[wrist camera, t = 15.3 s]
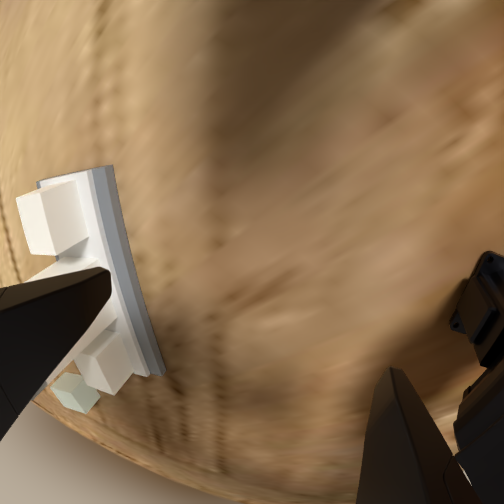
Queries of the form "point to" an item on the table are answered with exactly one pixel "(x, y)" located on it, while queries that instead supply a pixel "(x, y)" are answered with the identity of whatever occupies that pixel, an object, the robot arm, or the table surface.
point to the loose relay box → (75, 392)
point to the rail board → (110, 256)
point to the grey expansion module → (99, 323)
